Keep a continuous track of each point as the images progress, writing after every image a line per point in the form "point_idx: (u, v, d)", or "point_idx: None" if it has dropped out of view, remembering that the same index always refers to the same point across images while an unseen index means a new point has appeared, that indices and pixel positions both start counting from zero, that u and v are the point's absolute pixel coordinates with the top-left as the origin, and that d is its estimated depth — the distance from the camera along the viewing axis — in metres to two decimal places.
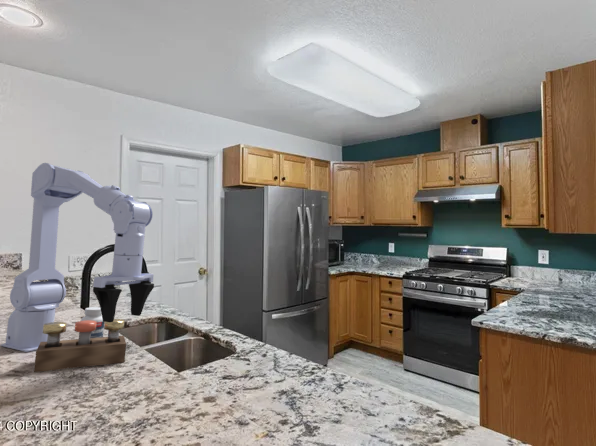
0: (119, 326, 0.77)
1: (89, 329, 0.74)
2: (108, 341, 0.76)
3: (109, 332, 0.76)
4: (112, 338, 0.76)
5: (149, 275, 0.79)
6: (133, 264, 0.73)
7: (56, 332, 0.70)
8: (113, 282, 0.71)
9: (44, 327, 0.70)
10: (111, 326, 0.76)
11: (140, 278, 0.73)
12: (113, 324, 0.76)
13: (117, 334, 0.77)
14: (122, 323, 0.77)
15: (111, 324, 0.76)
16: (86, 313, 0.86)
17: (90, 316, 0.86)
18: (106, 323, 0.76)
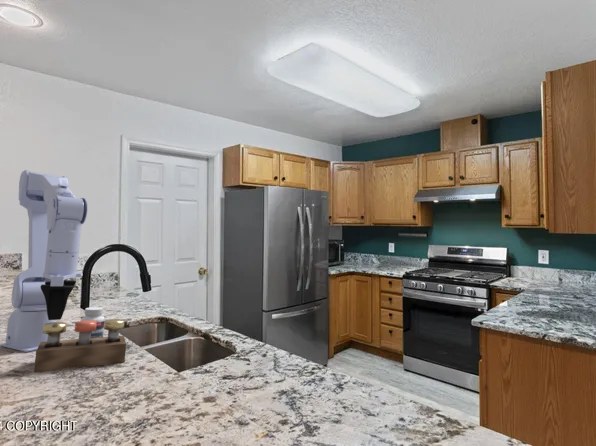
0: (119, 326, 0.77)
1: (89, 329, 0.74)
2: (108, 341, 0.76)
3: (109, 332, 0.76)
4: (112, 338, 0.76)
5: None
6: (76, 261, 0.73)
7: (56, 332, 0.70)
8: None
9: (44, 327, 0.70)
10: (111, 326, 0.76)
11: (82, 274, 0.75)
12: (113, 324, 0.76)
13: (117, 334, 0.77)
14: (122, 323, 0.77)
15: (111, 324, 0.76)
16: (86, 313, 0.86)
17: (90, 316, 0.86)
18: (106, 323, 0.76)
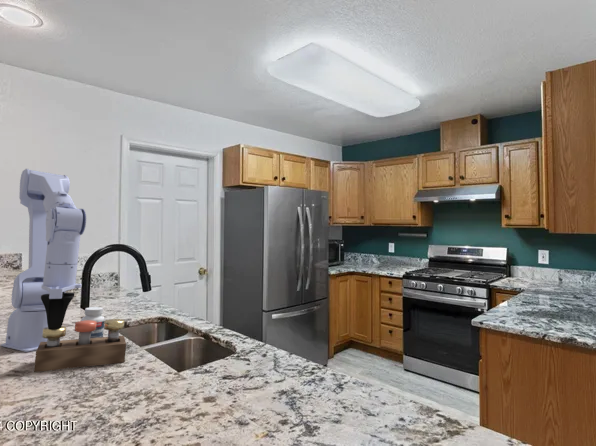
0: (119, 326, 0.77)
1: (89, 329, 0.74)
2: (108, 341, 0.76)
3: (109, 332, 0.76)
4: (112, 338, 0.76)
5: None
6: (75, 272, 0.73)
7: (56, 336, 0.70)
8: None
9: (44, 331, 0.70)
10: (111, 326, 0.76)
11: (81, 285, 0.74)
12: (113, 324, 0.76)
13: (117, 334, 0.77)
14: (122, 323, 0.77)
15: (111, 324, 0.76)
16: (86, 313, 0.86)
17: (90, 316, 0.86)
18: (106, 323, 0.76)
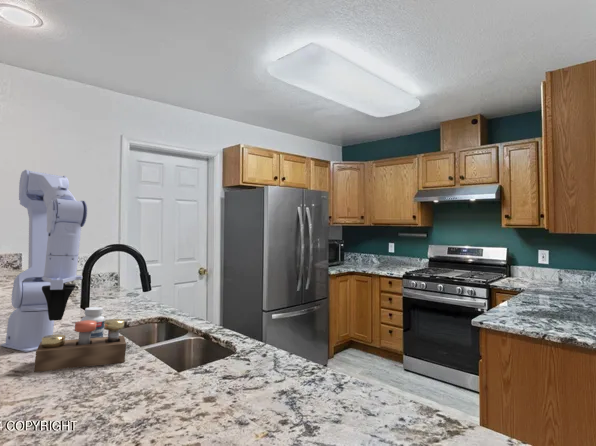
0: (119, 326, 0.77)
1: (89, 329, 0.74)
2: (108, 341, 0.76)
3: (109, 332, 0.76)
4: (112, 338, 0.76)
5: None
6: (75, 264, 0.73)
7: (55, 345, 0.70)
8: None
9: (43, 340, 0.70)
10: (111, 326, 0.76)
11: None
12: (113, 324, 0.76)
13: (117, 334, 0.77)
14: (122, 323, 0.77)
15: (111, 324, 0.76)
16: (86, 313, 0.86)
17: (90, 316, 0.86)
18: (106, 323, 0.76)
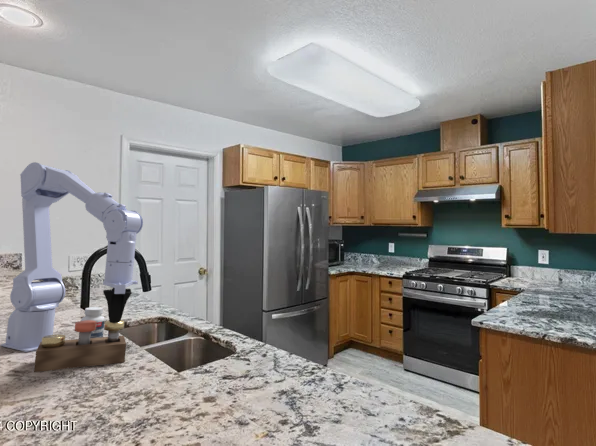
0: (119, 327, 0.77)
1: (89, 329, 0.74)
2: (108, 342, 0.76)
3: (109, 333, 0.76)
4: (112, 339, 0.76)
5: None
6: (132, 270, 0.79)
7: (55, 345, 0.70)
8: None
9: (43, 340, 0.70)
10: (111, 327, 0.76)
11: (137, 282, 0.80)
12: (113, 325, 0.76)
13: (117, 335, 0.77)
14: (122, 324, 0.77)
15: (111, 325, 0.76)
16: (86, 313, 0.86)
17: (90, 316, 0.86)
18: (106, 324, 0.76)
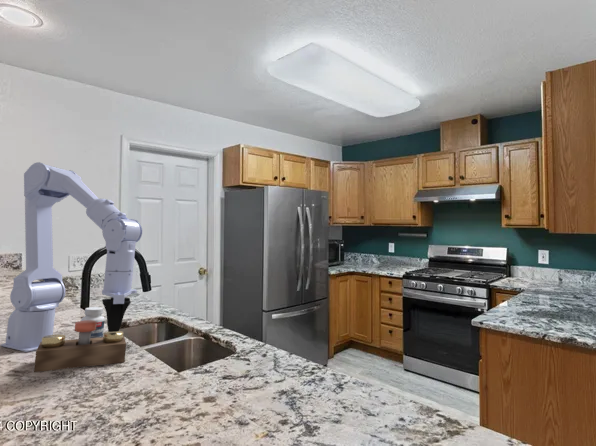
0: (118, 338, 0.76)
1: (89, 329, 0.74)
2: None
3: None
4: None
5: None
6: (131, 279, 0.79)
7: (55, 345, 0.70)
8: None
9: (43, 340, 0.70)
10: (110, 339, 0.75)
11: (136, 291, 0.80)
12: (112, 336, 0.76)
13: None
14: (121, 335, 0.77)
15: (110, 336, 0.75)
16: (86, 313, 0.86)
17: (90, 316, 0.86)
18: (105, 335, 0.76)
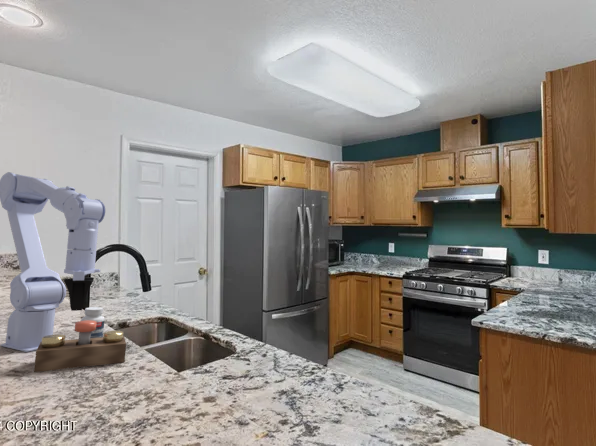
0: (118, 338, 0.76)
1: (89, 329, 0.74)
2: None
3: None
4: None
5: None
6: (94, 258, 0.79)
7: (55, 345, 0.70)
8: None
9: (43, 340, 0.70)
10: (110, 339, 0.75)
11: None
12: (112, 336, 0.76)
13: None
14: (121, 335, 0.77)
15: (110, 336, 0.75)
16: (86, 313, 0.86)
17: (90, 316, 0.86)
18: (105, 335, 0.76)
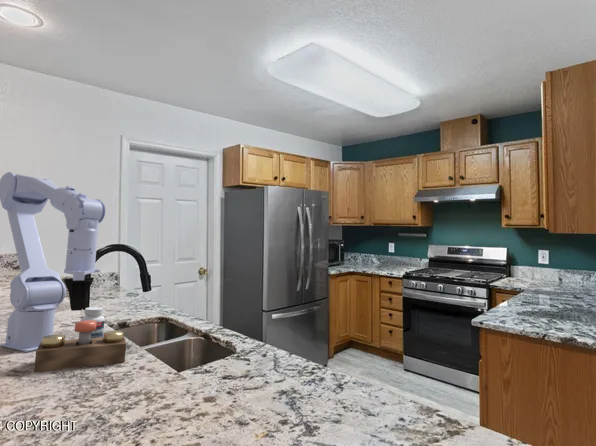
0: (118, 338, 0.76)
1: (89, 329, 0.74)
2: None
3: None
4: None
5: None
6: (94, 258, 0.79)
7: (55, 345, 0.70)
8: None
9: (43, 340, 0.70)
10: (110, 339, 0.75)
11: None
12: (112, 336, 0.76)
13: None
14: (121, 335, 0.77)
15: (110, 336, 0.75)
16: (86, 313, 0.86)
17: (90, 316, 0.86)
18: (105, 335, 0.76)
